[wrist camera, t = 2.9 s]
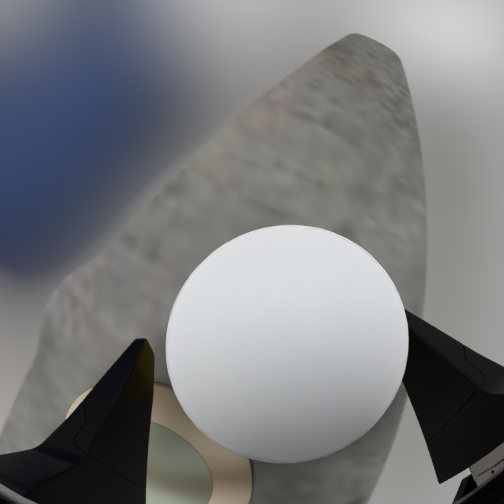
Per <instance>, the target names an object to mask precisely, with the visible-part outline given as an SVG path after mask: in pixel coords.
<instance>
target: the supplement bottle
mask: <svg viewBox="0 0 504 504" xmlns="http://www.w3.org/2000/svg"><path fill="white" fill-rule="evenodd" d="M408 338H409V337H408V323H407V319H406V314H405V310H404V307H403V304H402V301H401V298H400V296H399V294H398V291H397V289H396V287H395V285H394V283H393V282H392V280H391V279H390V277H389V276H388V274H387V273H386V271H385V270H384V269H383V268H382V267H381V266H380V264H379V263H378V262H377V261H376V260H375V259H374V258H373V257H372V256H371V255H370V254H369V253H368V252H367V251H365V250H364V249H363V248H361V247H360V246H358V245H357V244H355V243H354V242H352V241H350V240H348V239H347V238H345V237H343V236H340V235H338V234H335V233H333V232H331V231H327V230H324V229H321V228H316V227H310V226H301V225H281V226H272V227H266V228H262V229H258V230H254V231H251V232H248V233H246V234H243V235H241V236H239V237H237V238H235V239H233V240H231V241H229V242H227V243H225V244H224V245H222V246H221V247H219V248H218V249H216V250H215V251H214V252H212V253H211V254H210V255H209V256H208V257H207V258H206V259H205V260H204V261H203V262H202V263H201V264H200V265H199V266H198V267H197V268H196V269H195V270H194V271H193V272H192V273H191V275H190V276H189V278H188V279H187V281H186V282H185V284H184V285H183V287H182V288H181V290H180V292H179V294H178V296H177V298H176V300H175V302H174V305H173V308H172V310H171V313H170V318H169V323H168V328H167V334H166V362H167V369H168V374H169V378H170V381H171V384H172V387H173V390H174V392H175V395H176V397H177V399H178V401H179V403H180V405H181V406H182V408H183V410H184V412H185V413H186V414H187V416H188V417H189V418H190V419H191V421H192V422H193V423H194V424H195V426H196V427H197V428H198V429H199V430H200V431H201V432H202V433H204V434H205V435H206V436H207V437H208V438H209V439H211V440H212V441H214V442H215V443H216V444H218V445H220V446H221V447H223V448H225V449H227V450H229V451H231V452H233V453H235V454H238V455H240V456H242V457H246V458H249V459H253V460H258V461H262V462H267V463H280V464H290V463H301V462H307V461H312V460H316V459H319V458H323V457H326V456H328V455H331V454H333V453H336V452H338V451H339V450H341V449H343V448H345V447H347V446H348V445H350V444H352V443H353V442H355V441H356V440H358V439H359V438H360V437H362V436H363V435H364V434H365V433H366V432H368V431H369V430H370V429H371V428H372V427H373V426H374V425H375V424H376V423H377V421H378V420H379V419H380V418H381V417H382V415H383V414H384V413H385V411H386V410H387V409H388V407H389V406H390V404H391V403H392V401H393V399H394V397H395V395H396V393H397V391H398V389H399V386H400V384H401V381H402V378H403V375H404V372H405V368H406V362H407V356H408Z"/></svg>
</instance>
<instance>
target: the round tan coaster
mask: <svg viewBox="0 0 504 504" xmlns="http://www.w3.org/2000/svg"><path fill="white" fill-rule="evenodd" d="M92 389H93V388H91V389H90V390H88V391H86V392H84V393H83V394H82V395H81V396H80V397H78V398H77V400H76V401H75V402H74V403H73V404H72V406H71V408H70V410H69V412H68V414H67V417H66V419H67V418H68V417H69V416H70V415H71V413H72V412H73V411H74V410H75V409H76V408H77V406H78V405H79V404H80V403H81V402H82V401H83V399H84V398H85V397H86V396H87V395H88V393H89V392H90V391H91V390H92ZM251 492H252V471H251V465H250V461H249V458H246V457H242V456H240V455H238V454H235V453H233V452H231V451H229V450H227V449H225V448H223V447H221V446H220V445H218V444H216V443H215V442H214V441H212V440H211V439H209V438H208V437H207V436H206V435H205V434H204V433H202V432H201V431H200V430H199V429H198V428H197V427H196V426H195V424H194V423H193V422H192V421H191V419H190V418H189V417H188V416H187V414H186V413H185V412H184V410H183V408H182V406H181V405H180V403H179V401H178V399H177V397H176V395H175V392H174V390H173V387H172V386H168V385H165V384H162V383H159V382H154V396H153V406H152V415H151V425H150V435H149V448H148V463H147V482H146V504H249V501H250V497H251Z"/></svg>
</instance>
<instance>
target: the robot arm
mask: <svg viewBox="0 0 504 504" xmlns="http://www.w3.org/2000/svg"><path fill="white" fill-rule="evenodd" d="M404 310H405V309H404ZM405 314H406V319H407V323H408V337H409V338H408V356H407V362H406V368H405V372H404V375H403V378H402V381H403V384H404V386H405V389H406V391H407V393H408V396H409V398H410V401H411V403H412V406H413V409H414V411H415V414H416V416H417V419H418V421H419V424H420V427H421V430H422V432H423V435H424V438H425V441H426V444H427V447H428V450H429V453H430V456H431V459H432V463H433V466H434V469H435V472H436V476H437V479H438V482H439V484H441V483H443V482H445V481H447V480H448V479H450V478H452V477H453V476H455V475H457V474H459V473H460V472H462V471H464V470H465V469H467V468H468V467H469V469H470V472H471V474H470V475H468V476H467V477H465V478H464V479H463V480H462V481H461V484H460V487H459V489H458V491H457V494H456V496H455V498H454V501H453V503H452V504H504V367H503V366H501V365H499V364H497V363H495V362H493V361H492V360H490V359H488V358H486V357H484V356H482V355H480V354H478V353H477V352H475V351H473V350H472V349H470V348H468V347H467V346H465V345H463V344H462V343H460V342H458V341H457V340H455V339H453V338H452V337H450V336H448V335H447V334H445V333H444V332H442V331H440V330H439V329H437V328H435V327H434V326H432V325H430V324H429V323H427V322H425V321H424V320H422V319H420V318H419V317H417V316H415V315H414V314H412V313H410V312H409V311H407V310H405ZM153 396H154V353H153V351H152V349H151V347H150V345H149V342H148V341H147V339H145V338H140V339H135V340H134V341H133V342H132V343H131V345H130V346H129V347H128V348H127V349H126V350H125V351H124V353H123V354H122V355H121V356H120V357H119V358H118V359H117V361H116V362H115V363H114V364H113V365H112V366H111V368H110V369H109V370H108V371H107V372H106V373H105V375H104V376H103V377H102V378H101V379H100V380H99V382H98V383H97V384H96V385H95V386H94V387H93V389H92V390H91V391H90V392H89V393H88V395H87V396H86V397H85V398H84V399H83V401H82V402H81V403H80V404H79V405H78V406H77V408H76V409H75V410H74V411H73V412H72V413H71V415H70V416H69V417H68V418H67V419H66V420H65V421H64V422H63V423H62V424H61V425H60V426H59V427H58V428H57V429H56V430H55V431H54V432H53V433H52V434H51V435H50V436H49V437H48V438H47V439H46V440H45V441H44V442H43V443H42V444H40V445H39V446H37V447H35V448H33V449H29V450H25V451H20V452H14V453H9V454H2V455H0V504H146V482H147V463H148V448H149V435H150V425H151V415H152V406H153Z"/></svg>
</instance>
